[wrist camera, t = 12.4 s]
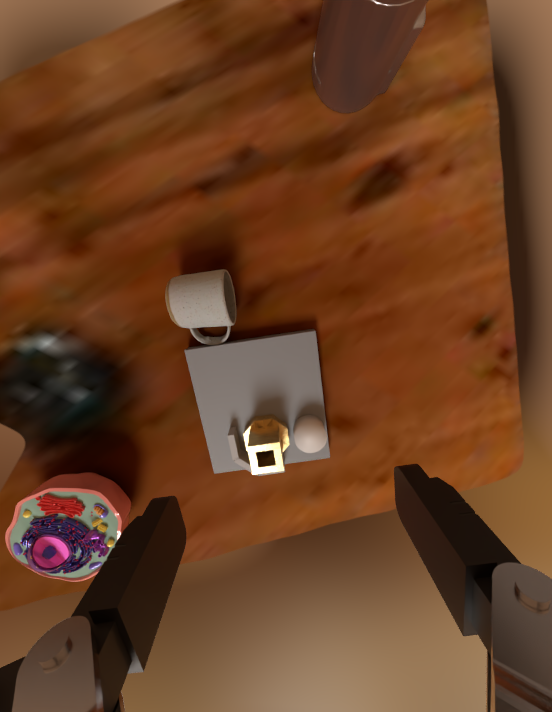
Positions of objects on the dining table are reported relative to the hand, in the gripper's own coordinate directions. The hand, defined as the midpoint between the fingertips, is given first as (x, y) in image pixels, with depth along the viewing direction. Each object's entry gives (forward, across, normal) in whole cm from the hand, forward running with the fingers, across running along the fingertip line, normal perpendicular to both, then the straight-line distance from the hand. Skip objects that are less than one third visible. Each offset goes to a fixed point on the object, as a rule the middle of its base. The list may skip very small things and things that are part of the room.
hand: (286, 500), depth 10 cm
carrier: (+34, +4, +11) cm, 36 cm away
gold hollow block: (+32, +4, +16) cm, 36 cm away
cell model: (+34, +37, +25) cm, 56 cm away
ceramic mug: (+34, +9, -6) cm, 36 cm away
